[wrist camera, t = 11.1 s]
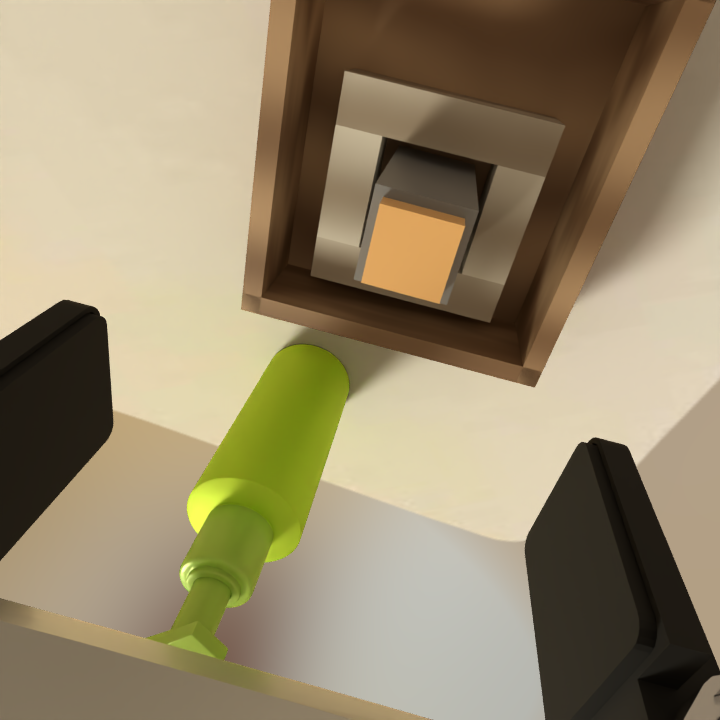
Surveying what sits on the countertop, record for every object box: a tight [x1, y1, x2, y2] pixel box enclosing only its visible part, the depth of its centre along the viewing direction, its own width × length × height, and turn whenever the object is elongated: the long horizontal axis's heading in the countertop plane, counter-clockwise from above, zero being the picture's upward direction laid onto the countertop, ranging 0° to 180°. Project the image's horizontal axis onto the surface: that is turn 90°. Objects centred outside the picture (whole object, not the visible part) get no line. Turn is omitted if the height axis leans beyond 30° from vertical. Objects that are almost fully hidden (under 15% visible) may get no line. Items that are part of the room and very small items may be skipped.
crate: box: [241, 0, 716, 387], centre depth 26 cm, size 18×16×6 cm
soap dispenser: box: [146, 344, 349, 660], centre depth 29 cm, size 6×7×20 cm
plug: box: [354, 145, 479, 305], centre depth 24 cm, size 4×4×10 cm
